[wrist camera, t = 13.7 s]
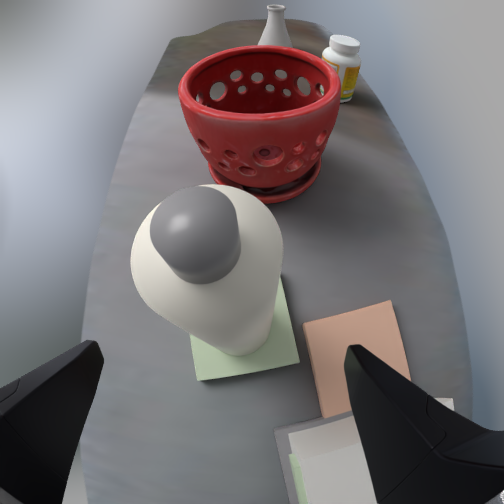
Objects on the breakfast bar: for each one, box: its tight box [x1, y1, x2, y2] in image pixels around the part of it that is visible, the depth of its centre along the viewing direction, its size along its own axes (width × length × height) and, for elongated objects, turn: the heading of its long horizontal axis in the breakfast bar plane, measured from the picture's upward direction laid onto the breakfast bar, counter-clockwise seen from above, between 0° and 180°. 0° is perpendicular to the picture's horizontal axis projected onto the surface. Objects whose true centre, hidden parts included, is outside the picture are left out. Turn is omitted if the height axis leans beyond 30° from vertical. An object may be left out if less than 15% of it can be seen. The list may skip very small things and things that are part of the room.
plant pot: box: [178, 45, 341, 204], centre depth 24 cm, size 13×13×12 cm
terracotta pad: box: [302, 300, 411, 418], centre depth 21 cm, size 8×8×1 cm
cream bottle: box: [131, 184, 283, 356], centre depth 14 cm, size 5×5×16 cm
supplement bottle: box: [320, 35, 361, 103], centre depth 31 cm, size 5×5×10 cm
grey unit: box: [273, 398, 454, 504], centre depth 14 cm, size 8×12×8 cm, turn 101°
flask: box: [258, 5, 293, 48], centre depth 37 cm, size 7×7×10 cm
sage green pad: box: [190, 278, 300, 381], centre depth 22 cm, size 8×8×1 cm
